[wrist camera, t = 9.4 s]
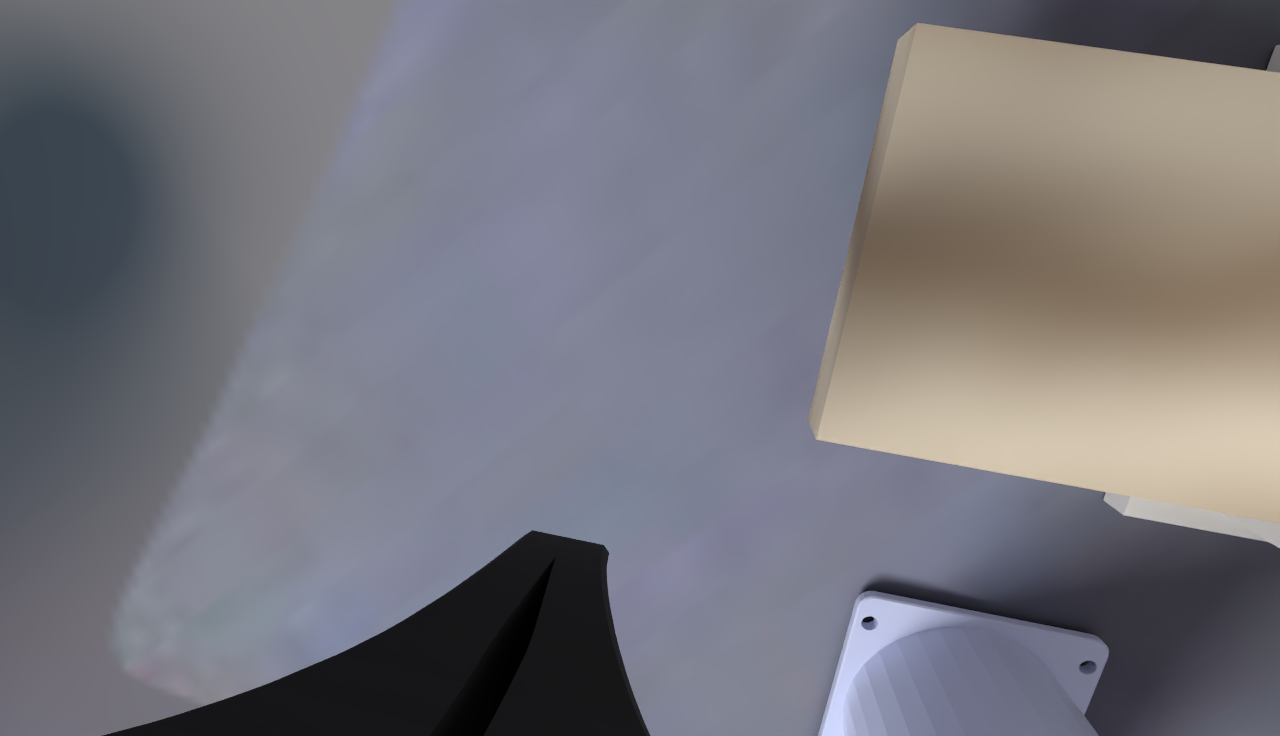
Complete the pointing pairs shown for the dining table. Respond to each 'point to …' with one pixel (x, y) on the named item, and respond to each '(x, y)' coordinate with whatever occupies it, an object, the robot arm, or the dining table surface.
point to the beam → (1067, 272)
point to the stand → (1192, 516)
